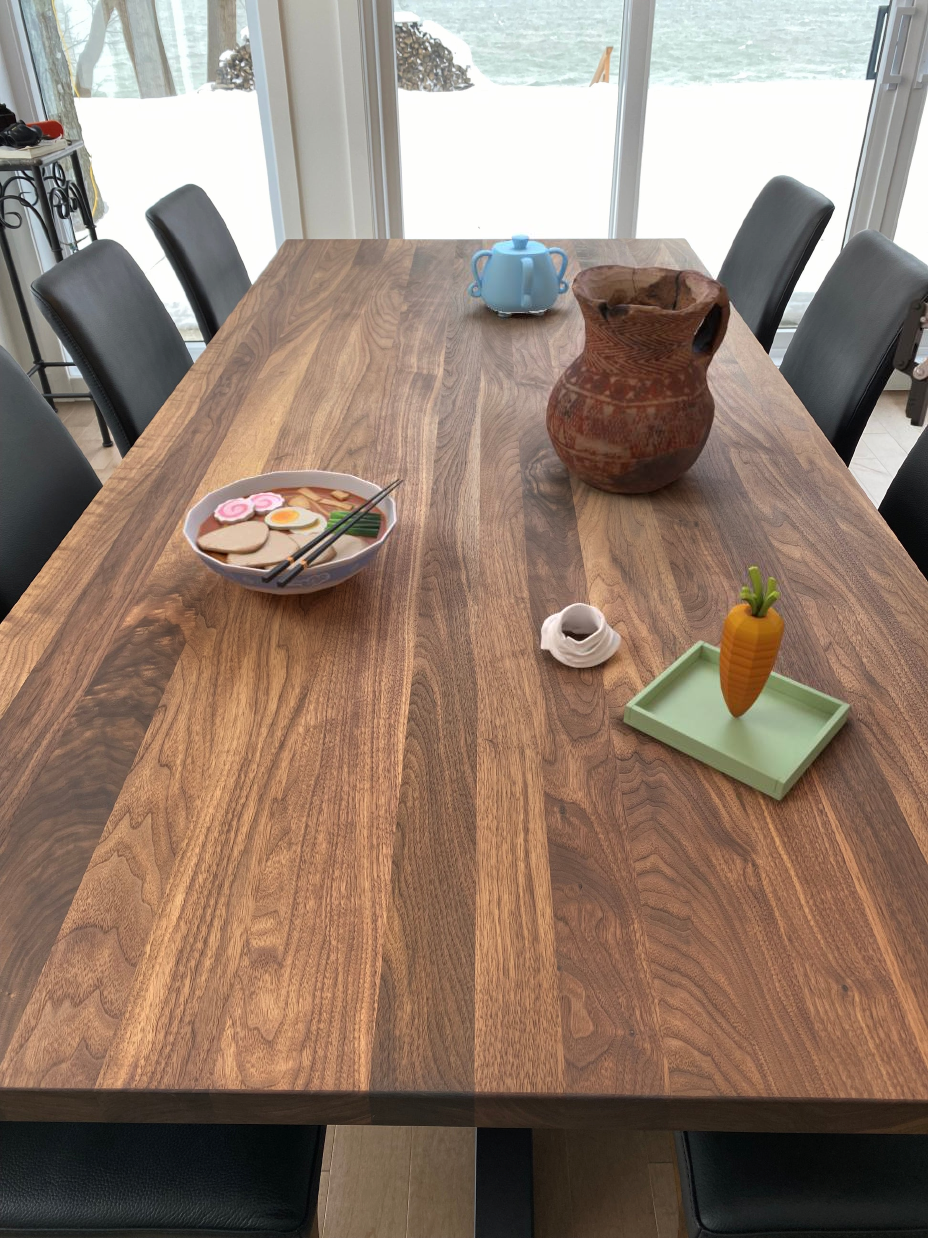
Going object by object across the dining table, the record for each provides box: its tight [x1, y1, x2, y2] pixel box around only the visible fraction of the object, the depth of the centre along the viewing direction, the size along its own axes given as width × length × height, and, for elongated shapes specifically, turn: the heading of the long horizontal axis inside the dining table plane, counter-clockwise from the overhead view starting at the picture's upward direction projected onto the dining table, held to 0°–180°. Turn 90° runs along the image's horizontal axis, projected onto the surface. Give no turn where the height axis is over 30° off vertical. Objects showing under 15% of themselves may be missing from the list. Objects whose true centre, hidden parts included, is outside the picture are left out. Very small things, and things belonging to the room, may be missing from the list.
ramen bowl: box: [181, 469, 404, 596], centre depth 106 cm, size 25×23×8 cm
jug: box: [545, 264, 731, 495], centre depth 123 cm, size 22×21×25 cm
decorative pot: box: [468, 234, 570, 318], centre depth 186 cm, size 16×16×14 cm
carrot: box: [719, 566, 786, 718], centre depth 84 cm, size 5×5×15 cm
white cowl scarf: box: [540, 602, 622, 669], centre depth 96 cm, size 8×7×5 cm
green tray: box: [622, 639, 851, 802], centre depth 87 cm, size 15×13×2 cm
